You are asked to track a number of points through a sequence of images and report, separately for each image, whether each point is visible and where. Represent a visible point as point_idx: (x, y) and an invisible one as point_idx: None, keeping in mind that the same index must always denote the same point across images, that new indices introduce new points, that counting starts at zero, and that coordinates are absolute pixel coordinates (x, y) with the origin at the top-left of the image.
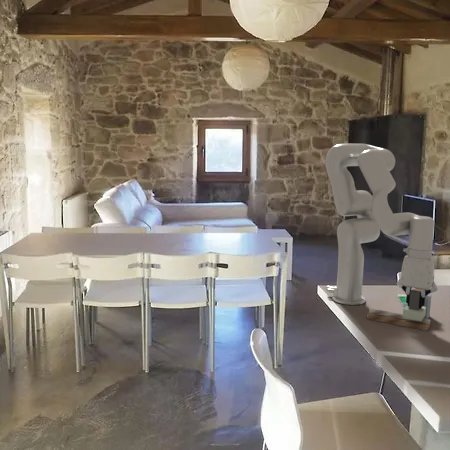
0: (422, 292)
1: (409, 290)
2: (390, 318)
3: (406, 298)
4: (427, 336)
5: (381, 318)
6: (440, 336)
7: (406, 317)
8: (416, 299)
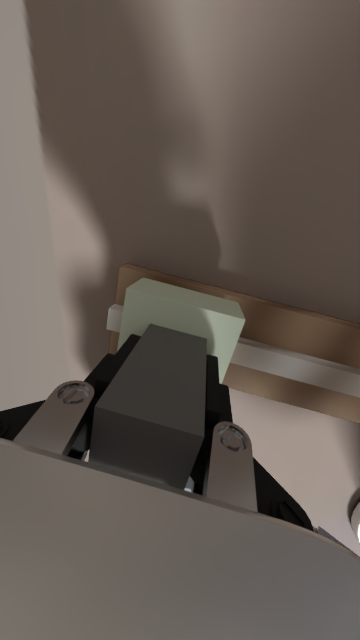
0: (62, 422)
1: (213, 463)
2: (292, 322)
3: (229, 405)
4: (121, 181)
5: (337, 321)
6: (68, 207)
7: (218, 298)
8: (147, 366)
